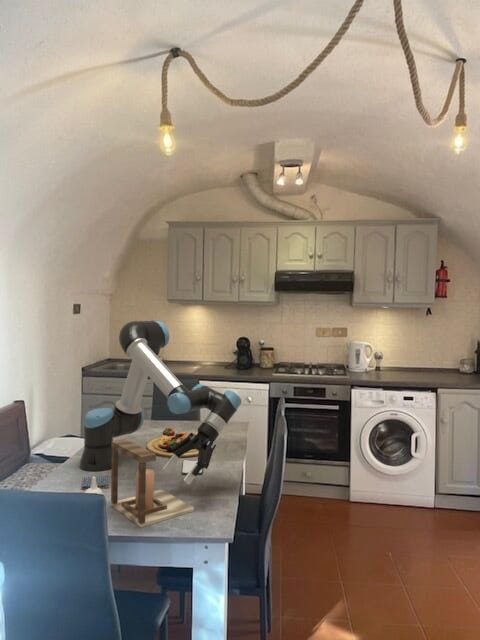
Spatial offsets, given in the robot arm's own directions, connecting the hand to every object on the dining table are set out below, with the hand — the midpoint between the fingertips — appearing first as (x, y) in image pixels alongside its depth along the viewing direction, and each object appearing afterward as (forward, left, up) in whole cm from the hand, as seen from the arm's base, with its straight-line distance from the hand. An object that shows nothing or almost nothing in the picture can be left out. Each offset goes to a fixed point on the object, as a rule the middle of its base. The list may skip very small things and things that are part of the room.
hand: (175, 476), depth 173 cm
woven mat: (-32, -15, -10) cm, 37 cm away
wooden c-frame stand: (0, -9, -9) cm, 13 cm away
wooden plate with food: (-54, +37, -10) cm, 66 cm away
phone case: (-25, +25, -10) cm, 37 cm away
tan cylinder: (0, -12, -8) cm, 14 cm away
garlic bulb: (-20, -21, -9) cm, 30 cm away
